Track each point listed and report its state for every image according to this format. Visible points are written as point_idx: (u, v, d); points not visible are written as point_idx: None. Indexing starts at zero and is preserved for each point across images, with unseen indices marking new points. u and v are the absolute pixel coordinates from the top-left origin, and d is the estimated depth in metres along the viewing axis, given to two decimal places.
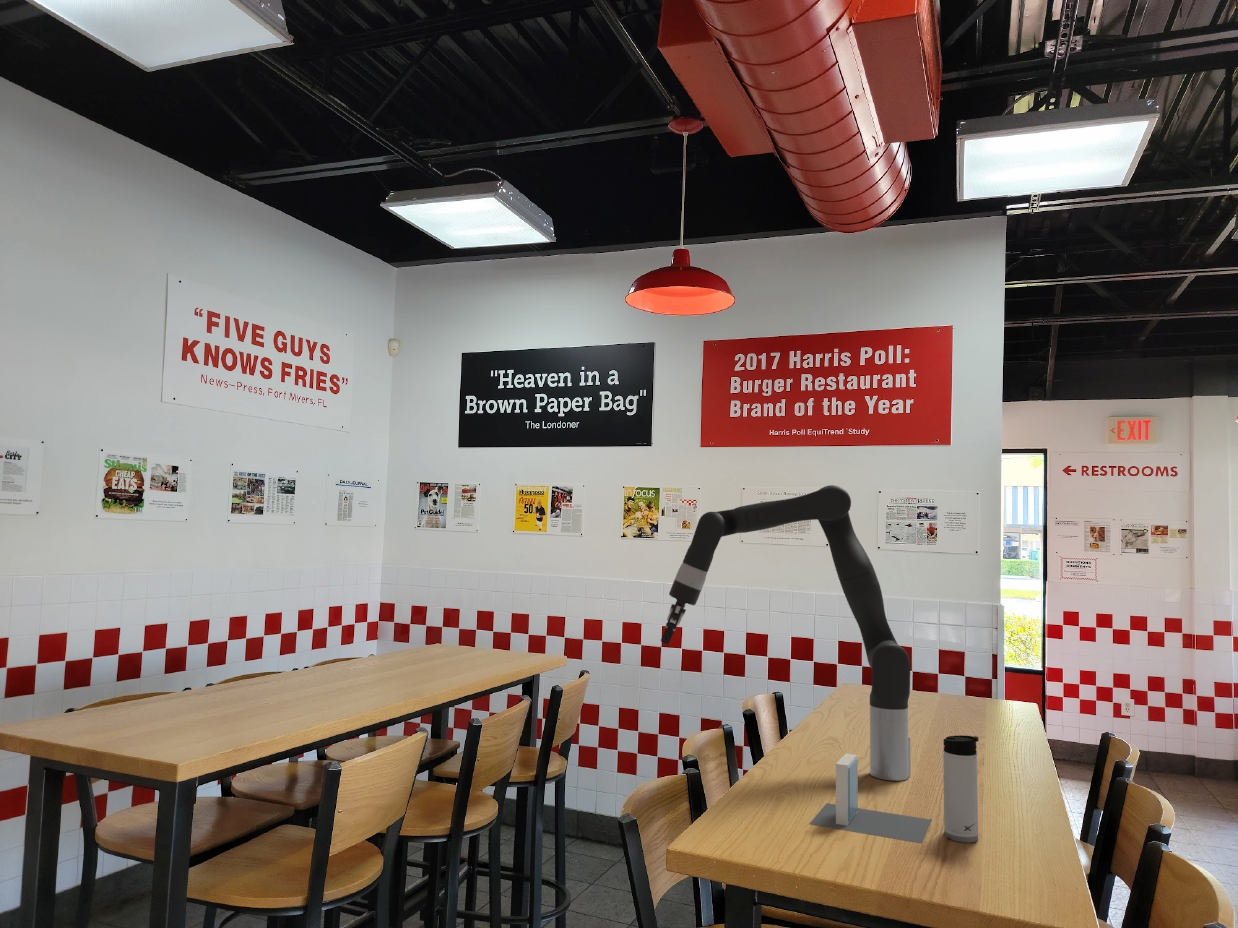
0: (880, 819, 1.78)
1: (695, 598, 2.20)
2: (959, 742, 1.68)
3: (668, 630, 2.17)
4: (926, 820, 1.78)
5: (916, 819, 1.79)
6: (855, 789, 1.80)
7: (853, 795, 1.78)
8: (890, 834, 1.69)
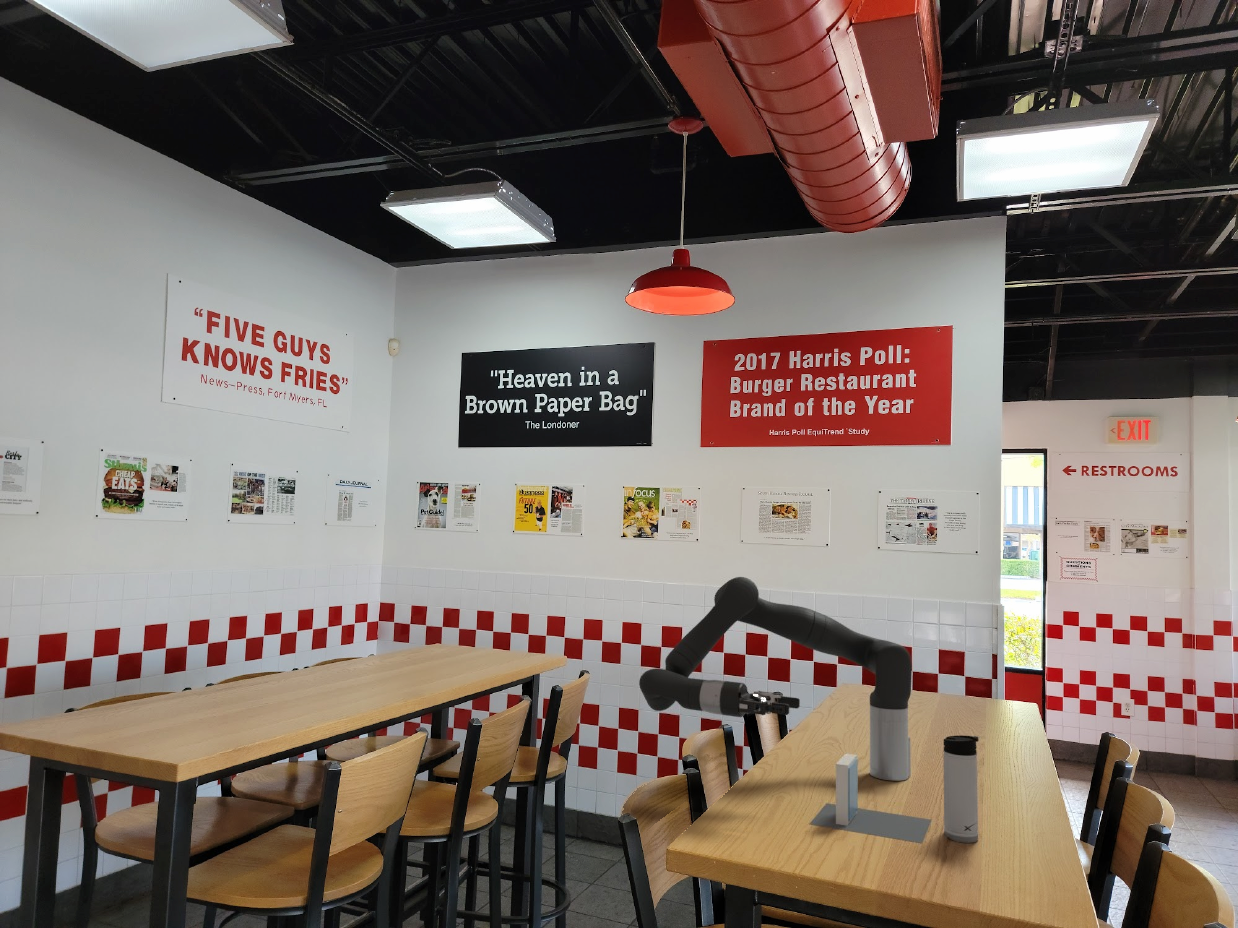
0: (880, 819, 1.78)
1: (732, 686, 1.90)
2: (959, 742, 1.68)
3: (771, 709, 1.82)
4: (926, 820, 1.78)
5: (916, 819, 1.79)
6: (855, 789, 1.80)
7: (853, 795, 1.78)
8: (890, 834, 1.69)
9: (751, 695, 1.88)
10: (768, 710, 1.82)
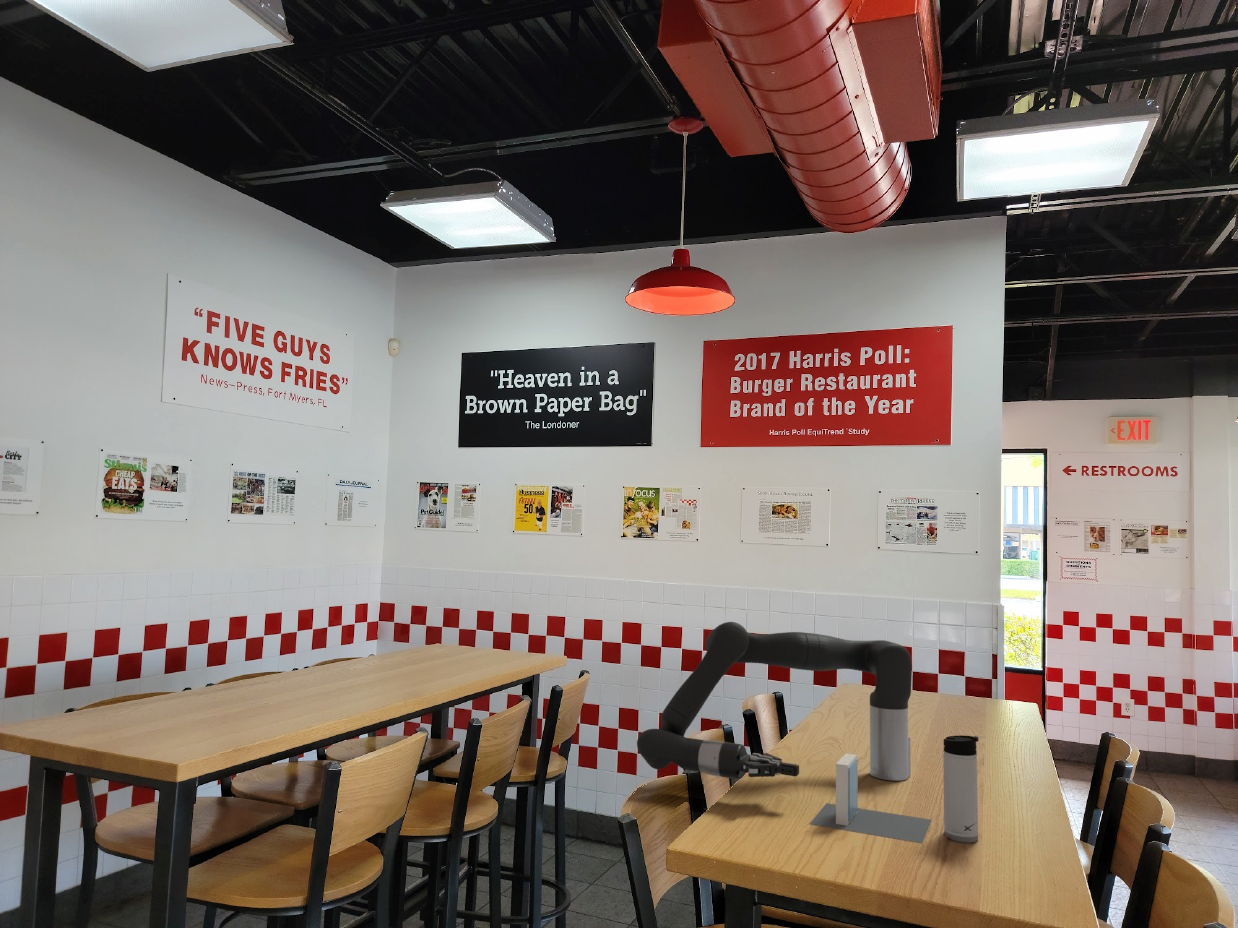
0: (880, 819, 1.78)
1: (731, 748, 1.89)
2: (959, 742, 1.68)
3: (780, 770, 1.84)
4: (926, 820, 1.78)
5: (916, 819, 1.79)
6: (855, 789, 1.80)
7: (853, 795, 1.78)
8: (890, 834, 1.69)
9: (750, 758, 1.87)
10: (777, 771, 1.84)
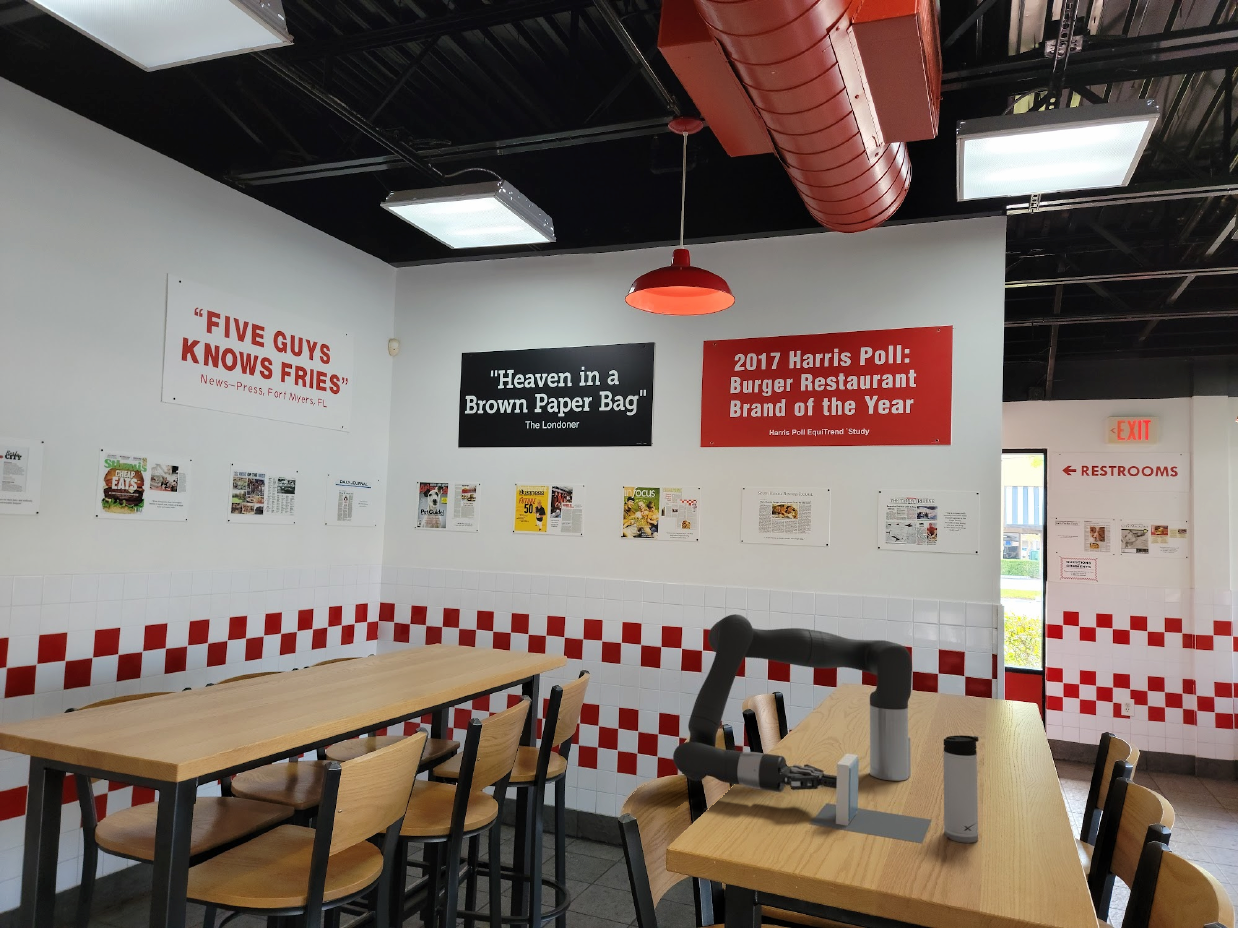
0: (880, 819, 1.78)
1: (771, 760, 1.85)
2: (959, 742, 1.68)
3: (823, 782, 1.80)
4: (926, 820, 1.78)
5: (916, 819, 1.79)
6: (856, 789, 1.80)
7: (853, 795, 1.78)
8: (890, 834, 1.69)
9: (791, 770, 1.83)
10: (820, 783, 1.80)
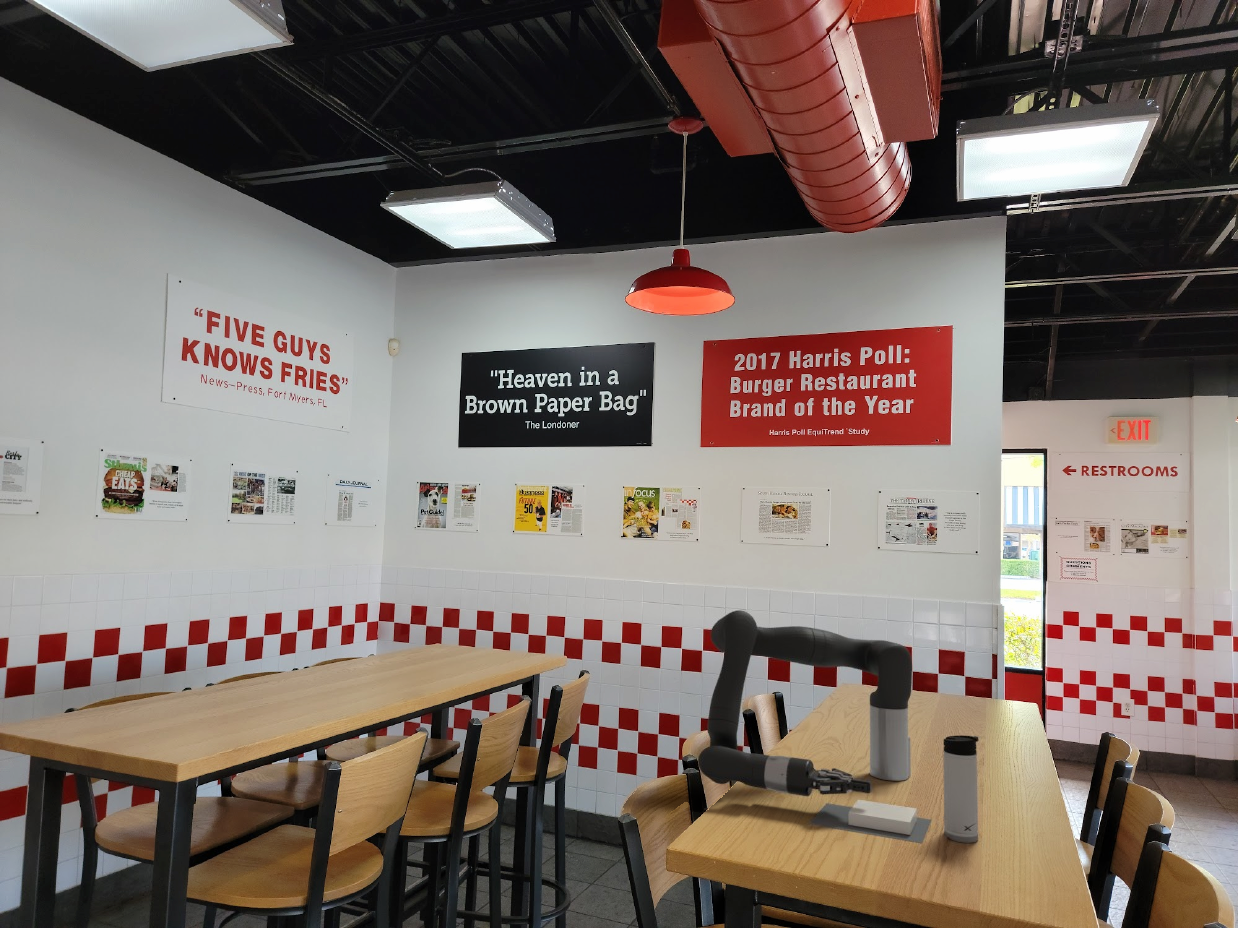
0: None
1: (799, 764, 1.82)
2: (959, 742, 1.68)
3: (852, 787, 1.77)
4: (926, 820, 1.78)
5: None
6: None
7: None
8: (890, 834, 1.69)
9: (819, 774, 1.80)
10: (849, 788, 1.77)
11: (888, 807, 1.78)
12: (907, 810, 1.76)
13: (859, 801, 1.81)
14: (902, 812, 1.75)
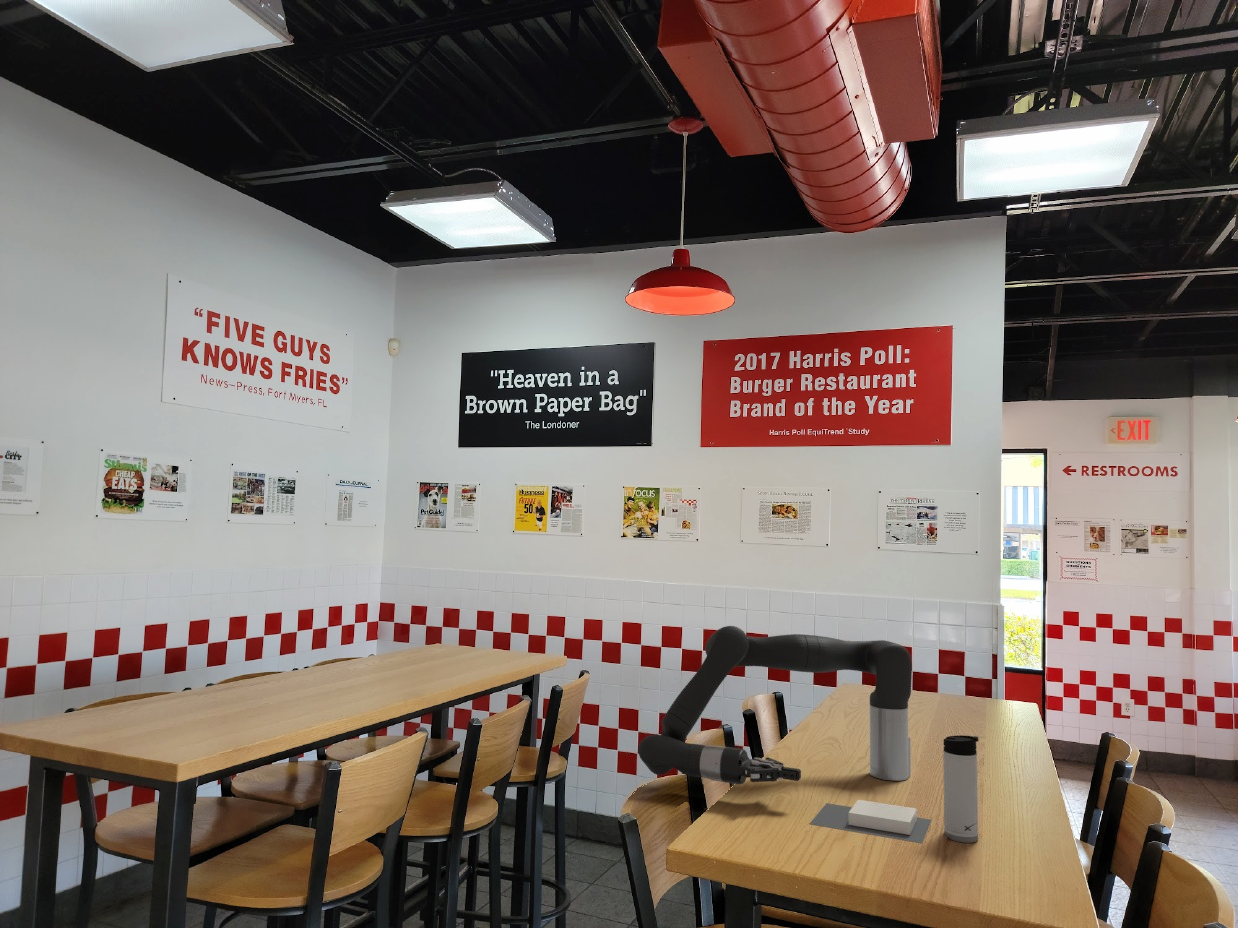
0: None
1: (732, 753, 1.89)
2: (959, 742, 1.68)
3: (782, 775, 1.84)
4: (926, 820, 1.78)
5: None
6: None
7: None
8: (890, 834, 1.69)
9: (751, 763, 1.87)
10: (779, 776, 1.84)
11: (888, 807, 1.78)
12: (907, 810, 1.76)
13: (859, 801, 1.81)
14: (902, 812, 1.75)
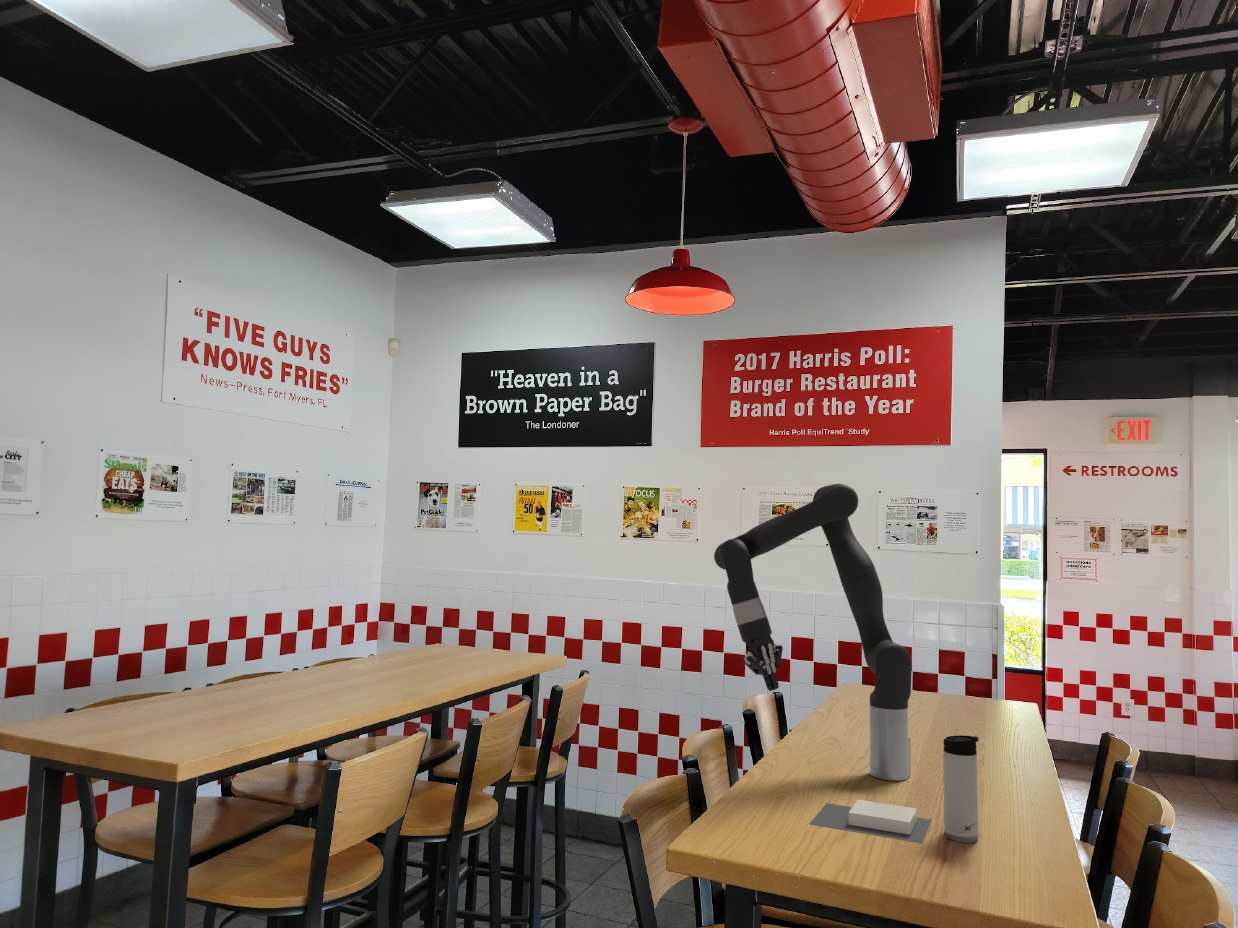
0: None
1: (758, 629, 2.04)
2: (959, 742, 1.68)
3: (765, 676, 2.04)
4: (926, 820, 1.78)
5: None
6: None
7: None
8: (890, 834, 1.69)
9: (760, 648, 2.04)
10: (762, 675, 2.04)
11: (888, 807, 1.78)
12: (907, 810, 1.76)
13: (859, 801, 1.81)
14: (902, 812, 1.75)
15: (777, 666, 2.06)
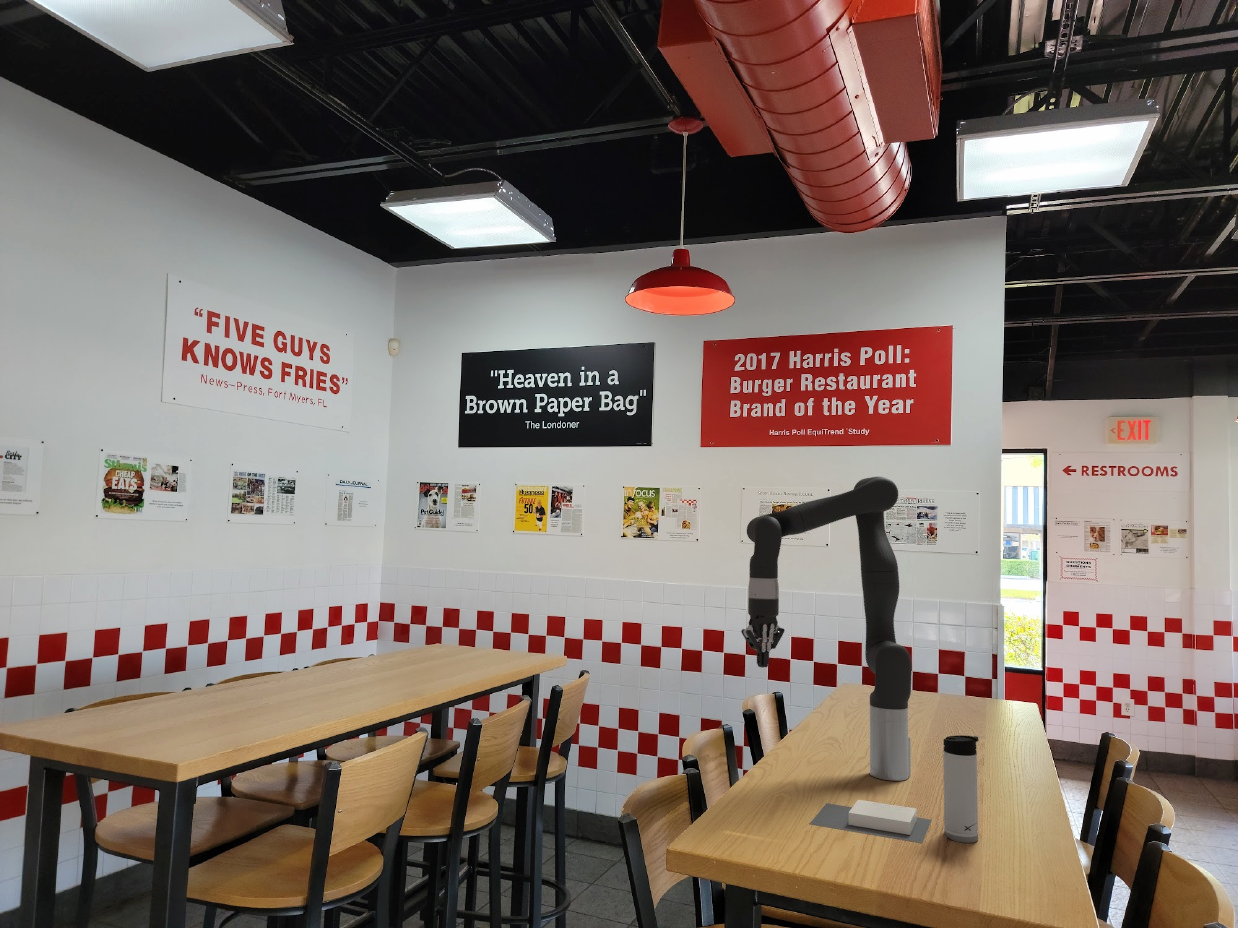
0: None
1: (766, 608, 2.08)
2: (959, 742, 1.68)
3: (758, 652, 2.11)
4: (926, 820, 1.78)
5: None
6: None
7: None
8: (890, 834, 1.69)
9: (761, 626, 2.09)
10: (756, 650, 2.11)
11: (888, 807, 1.78)
12: (907, 810, 1.76)
13: (859, 801, 1.81)
14: (902, 812, 1.75)
15: (773, 647, 2.12)
